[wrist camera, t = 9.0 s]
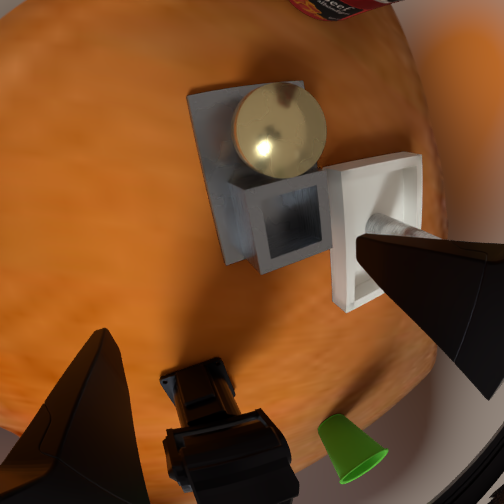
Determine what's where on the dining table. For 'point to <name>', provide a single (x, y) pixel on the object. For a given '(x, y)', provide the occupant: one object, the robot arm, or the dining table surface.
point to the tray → (368, 215)
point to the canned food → (337, 8)
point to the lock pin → (393, 227)
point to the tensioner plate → (255, 195)
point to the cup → (349, 448)
